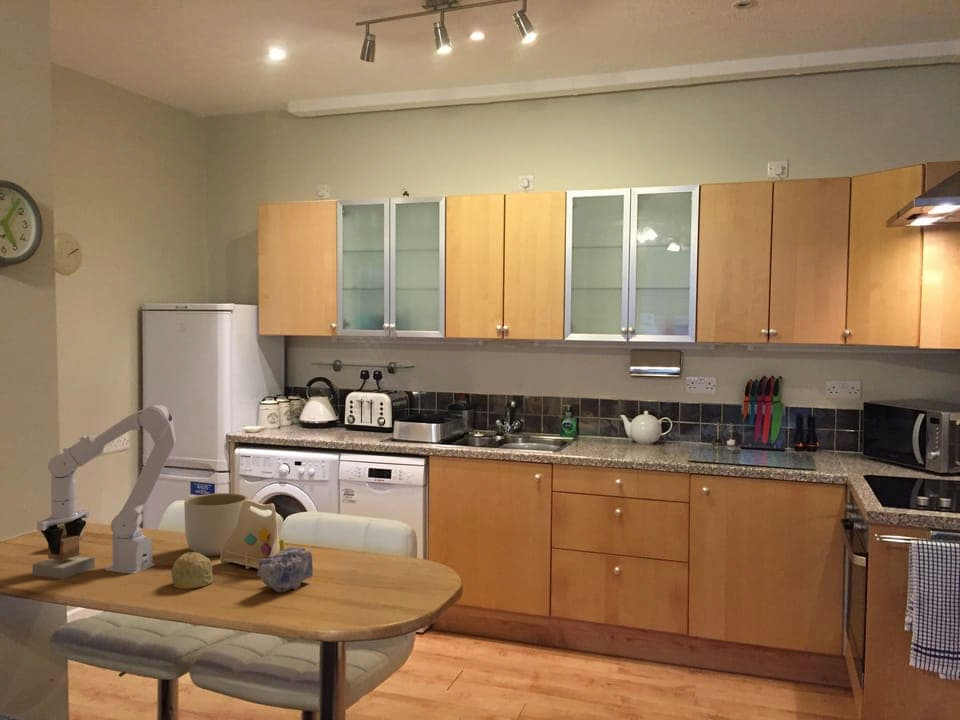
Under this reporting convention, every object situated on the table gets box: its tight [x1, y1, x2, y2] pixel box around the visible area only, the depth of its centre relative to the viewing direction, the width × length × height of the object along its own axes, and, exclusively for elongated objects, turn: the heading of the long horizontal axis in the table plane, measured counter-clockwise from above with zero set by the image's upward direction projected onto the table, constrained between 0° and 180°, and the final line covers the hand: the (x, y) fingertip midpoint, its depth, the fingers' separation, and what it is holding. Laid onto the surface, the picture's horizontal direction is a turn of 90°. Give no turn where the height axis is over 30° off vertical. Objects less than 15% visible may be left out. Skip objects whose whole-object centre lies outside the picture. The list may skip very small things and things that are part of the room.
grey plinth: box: [31, 555, 96, 580], centre depth 195 cm, size 10×10×3 cm
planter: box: [183, 492, 248, 557], centre depth 215 cm, size 17×17×15 cm
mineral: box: [256, 546, 314, 593], centre depth 182 cm, size 14×10×10 cm, turn 157°
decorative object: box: [170, 551, 214, 590], centre depth 185 cm, size 9×10×10 cm
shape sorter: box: [219, 499, 285, 570], centre depth 202 cm, size 20×10×18 cm, turn 58°
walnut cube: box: [47, 535, 80, 560], centre depth 195 cm, size 5×5×5 cm
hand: (64, 551), depth 195 cm, fingers closed on walnut cube, 5 cm apart
